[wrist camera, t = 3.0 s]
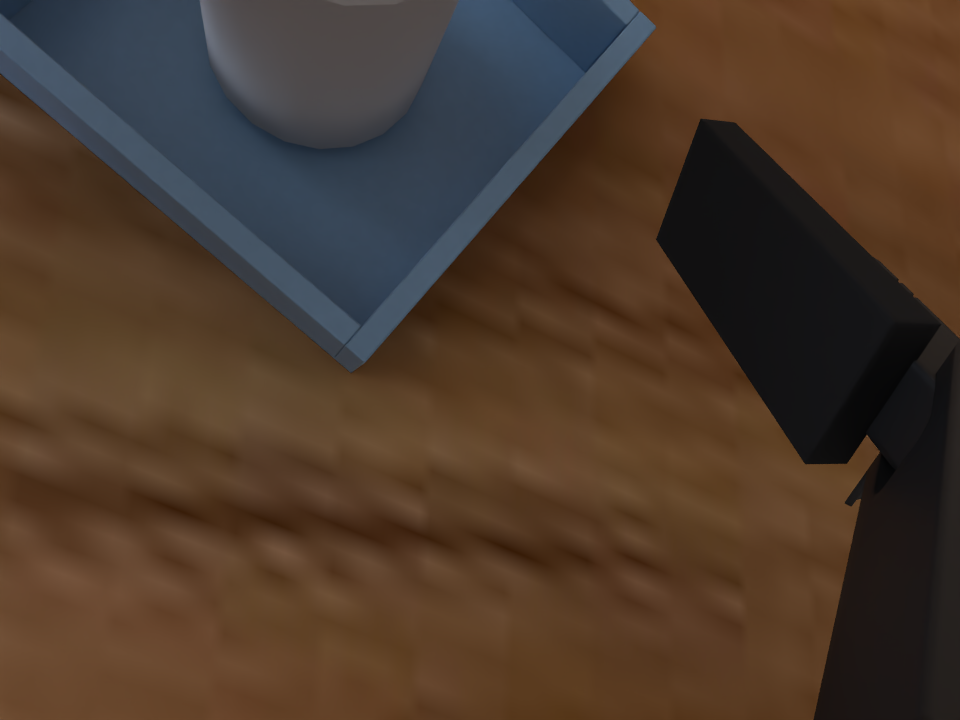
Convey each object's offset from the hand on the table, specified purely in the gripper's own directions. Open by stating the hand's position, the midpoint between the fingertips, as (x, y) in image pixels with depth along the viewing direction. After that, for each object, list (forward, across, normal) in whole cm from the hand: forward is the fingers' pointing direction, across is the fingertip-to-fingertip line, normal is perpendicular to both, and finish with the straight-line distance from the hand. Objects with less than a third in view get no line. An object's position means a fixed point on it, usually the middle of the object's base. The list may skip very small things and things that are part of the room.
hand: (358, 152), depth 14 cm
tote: (+16, 0, -4) cm, 16 cm away
